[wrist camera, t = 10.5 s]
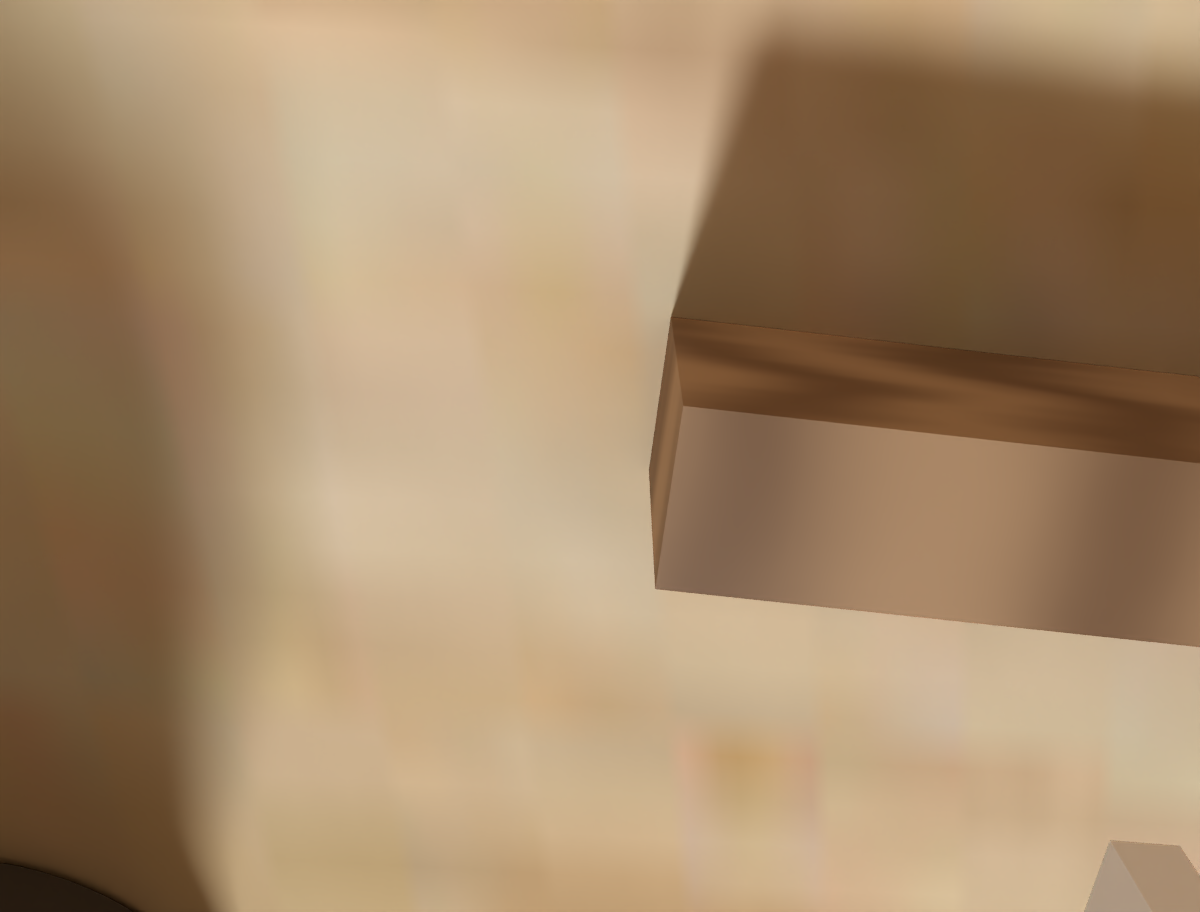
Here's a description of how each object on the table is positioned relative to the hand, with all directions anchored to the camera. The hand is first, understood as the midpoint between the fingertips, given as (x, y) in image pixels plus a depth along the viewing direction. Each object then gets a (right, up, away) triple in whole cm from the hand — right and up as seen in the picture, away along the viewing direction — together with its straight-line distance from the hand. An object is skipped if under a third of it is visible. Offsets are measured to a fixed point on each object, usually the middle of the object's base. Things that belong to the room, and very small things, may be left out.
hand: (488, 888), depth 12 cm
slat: (+12, +5, +15) cm, 20 cm away
